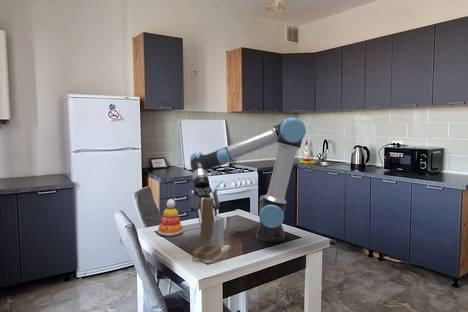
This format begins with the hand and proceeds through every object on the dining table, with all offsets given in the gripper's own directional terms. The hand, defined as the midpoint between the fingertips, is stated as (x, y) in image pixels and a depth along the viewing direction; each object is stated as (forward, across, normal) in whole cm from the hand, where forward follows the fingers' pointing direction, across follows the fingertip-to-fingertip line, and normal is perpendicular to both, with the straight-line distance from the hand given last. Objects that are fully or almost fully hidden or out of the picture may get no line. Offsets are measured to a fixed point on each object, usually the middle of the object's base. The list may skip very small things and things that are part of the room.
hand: (207, 223), depth 154 cm
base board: (+7, -3, -17) cm, 19 cm away
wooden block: (+3, 0, -8) cm, 8 cm away
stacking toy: (-20, +12, -45) cm, 51 cm away
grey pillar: (+2, -8, -20) cm, 22 cm away
